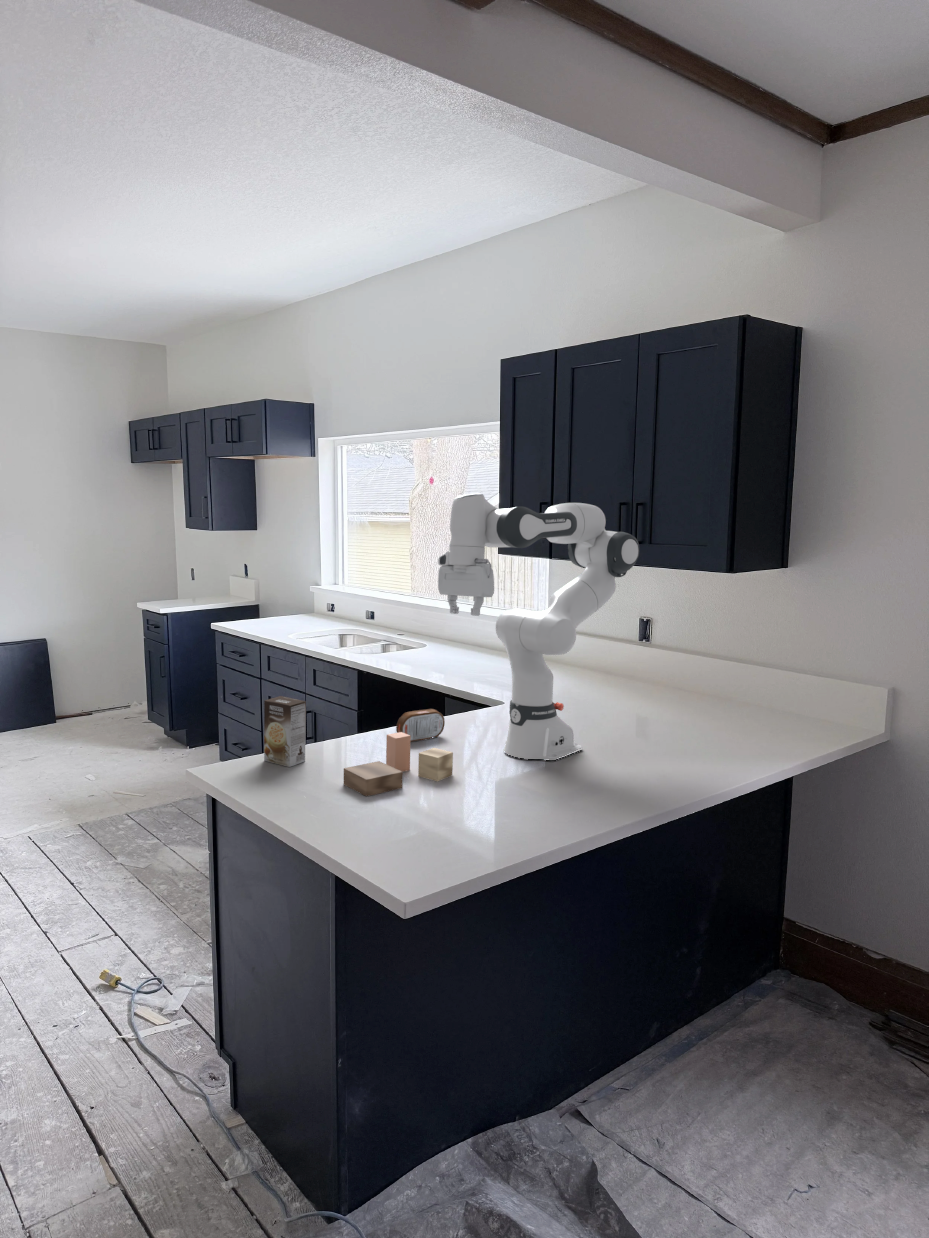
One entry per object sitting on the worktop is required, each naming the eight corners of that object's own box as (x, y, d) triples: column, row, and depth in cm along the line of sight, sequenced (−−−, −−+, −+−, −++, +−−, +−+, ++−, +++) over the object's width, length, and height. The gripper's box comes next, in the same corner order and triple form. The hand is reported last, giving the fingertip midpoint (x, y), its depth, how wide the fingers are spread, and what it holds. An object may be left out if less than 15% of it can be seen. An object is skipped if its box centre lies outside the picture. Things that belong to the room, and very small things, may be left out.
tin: (440, 734, 247) (440, 706, 246) (446, 737, 244) (446, 708, 243) (395, 742, 238) (395, 712, 237) (401, 744, 236) (401, 715, 235)
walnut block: (378, 776, 208) (379, 761, 207) (402, 788, 200) (402, 771, 199) (343, 784, 201) (343, 768, 201) (366, 796, 194) (366, 779, 193)
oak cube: (433, 770, 214) (433, 747, 213) (452, 775, 210) (452, 752, 210) (418, 776, 209) (418, 752, 208) (437, 781, 206) (438, 757, 205)
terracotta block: (400, 766, 217) (401, 731, 215) (409, 770, 213) (410, 735, 212) (386, 769, 214) (386, 734, 212) (395, 773, 211) (395, 738, 209)
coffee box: (262, 761, 218) (262, 699, 215) (280, 755, 223) (279, 695, 221) (289, 767, 213) (289, 705, 211) (306, 761, 218) (307, 700, 216)
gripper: (501, 559, 203) (499, 617, 204) (455, 559, 220) (453, 612, 221) (480, 558, 200) (477, 616, 200) (434, 558, 217) (432, 612, 217)
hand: (464, 614), depth 211 cm, fingers open, 8 cm apart
